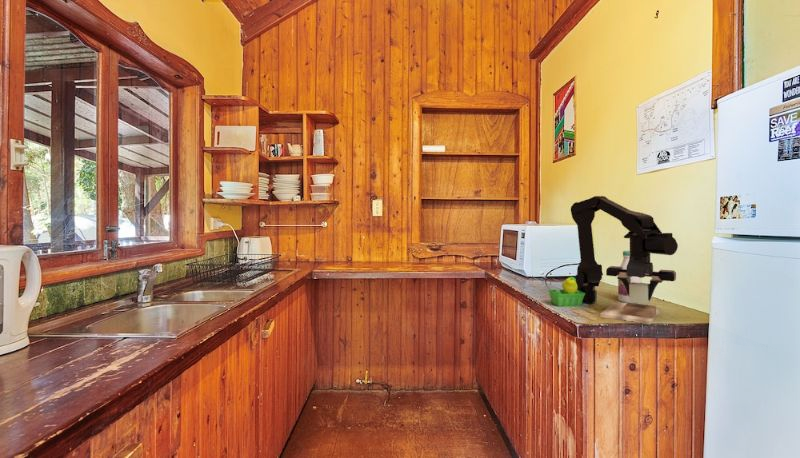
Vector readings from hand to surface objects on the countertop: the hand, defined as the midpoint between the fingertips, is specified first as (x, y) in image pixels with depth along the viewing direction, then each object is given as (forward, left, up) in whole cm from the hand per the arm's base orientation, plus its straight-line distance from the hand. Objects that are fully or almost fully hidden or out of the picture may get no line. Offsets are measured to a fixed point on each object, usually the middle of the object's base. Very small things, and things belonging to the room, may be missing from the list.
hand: (639, 298), depth 118 cm
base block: (0, 0, -5) cm, 5 cm away
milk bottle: (-7, +23, -6) cm, 25 cm away
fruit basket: (-24, +2, -6) cm, 25 cm away
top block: (0, 0, -1) cm, 1 cm away
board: (-3, +3, -6) cm, 7 cm away
